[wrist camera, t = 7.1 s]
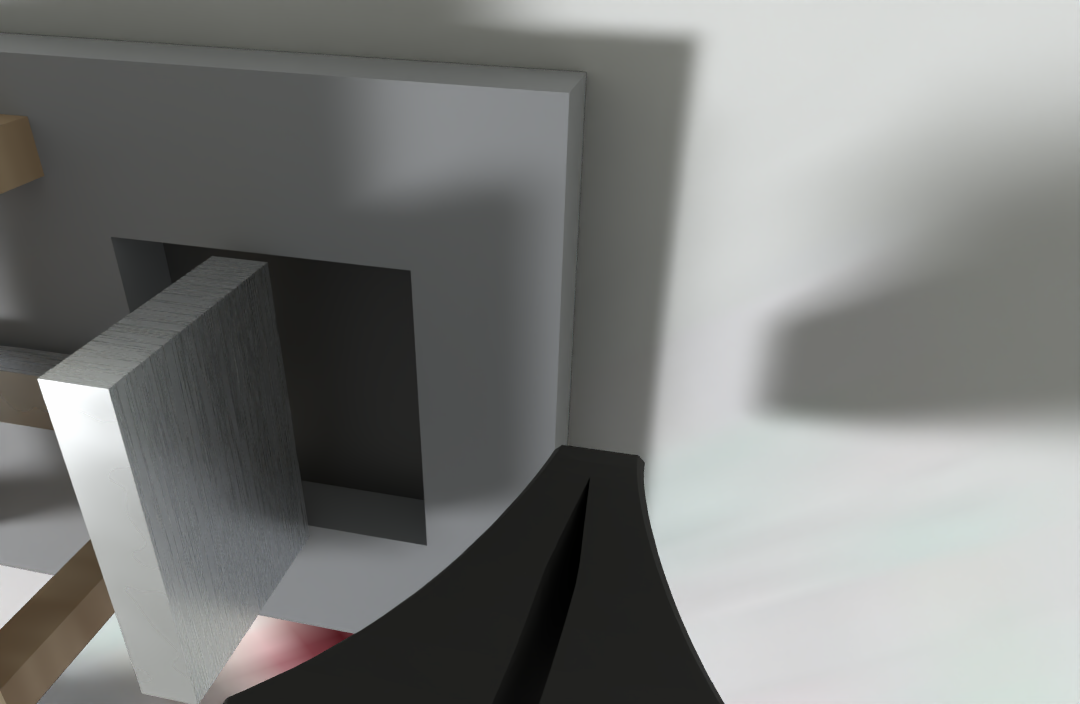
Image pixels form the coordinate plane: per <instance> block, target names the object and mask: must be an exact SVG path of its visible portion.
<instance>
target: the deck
mask: <svg viewBox="0 0 1080 704" xmlns="http://www.w3.org/2000/svg"><path fill="white" fill-rule="evenodd" d="M585 90H586V72H576V71H561V70H546V69H531V68H517V67H502V66H487V65H472V64H457V63H443V62H428V61H413V60H398V59H383V58H369V57H354V56H339V55H324V54H309V53H295V52H280V51H265V50H250V49H235V48H220V47H206V46H191V45H176V44H161V43H146V42H132V41H117V40H102V39H87V38H72V37H58V36H43V35H28V34H13V33H0V114H5V115H17V116H28V120H29V123H30V127H31V130H32V134H33V137H34V141H35V144H36V148H37V151H38V155H39V158H40V162H41V165H42V169H43V172H44V176H43V177H40V178H38V179H35V180H33V181H31V182H28V183H26V184H23V185H21V186H19V187H16V188H14V189H11V190H9V191H7V192H4V193H2V194H0V345H4V346H11V347H18V348H25V349H32V350H39V351H46V352H53V353H61V354H68V355H72V354H73V353H75V352H76V351H77V350H79V349H80V348H82V347H83V346H85V345H86V344H87V343H89V342H90V341H92V340H93V339H95V338H96V337H97V336H99V335H100V334H102V333H103V332H104V331H106V330H107V329H109V328H110V327H112V326H113V325H114V324H116V323H117V322H119V321H120V320H122V319H123V318H124V317H126V316H127V315H129V314H130V313H132V312H133V311H134V310H136V309H137V308H139V307H140V306H142V305H143V304H144V303H146V302H147V301H149V300H150V299H152V298H153V297H154V296H156V295H157V294H159V293H160V292H162V291H163V290H164V289H166V288H167V287H169V286H170V285H172V284H173V283H174V282H176V281H177V280H179V279H180V278H182V277H183V276H184V275H186V274H187V273H189V272H190V271H192V270H193V269H194V268H196V267H197V266H199V265H200V264H202V263H203V262H204V261H206V260H207V259H209V258H210V257H212V256H217V257H225V258H234V259H243V260H252V261H260V262H268V269H269V275H270V282H271V288H272V295H273V301H274V308H275V314H276V321H277V327H278V334H279V340H280V347H281V353H282V360H283V366H284V373H285V379H286V386H287V392H288V398H289V405H290V411H291V418H292V424H293V431H294V437H295V444H296V450H297V457H298V463H299V470H300V476H301V483H302V489H303V496H304V502H305V509H306V515H307V522H308V528H309V535H310V537H309V539H308V540H307V542H306V543H305V545H304V546H303V548H302V549H301V551H300V552H299V554H298V555H297V557H296V558H295V560H294V561H293V563H292V564H291V566H290V567H289V569H288V570H287V572H286V573H285V575H284V576H283V578H282V579H281V581H280V583H279V584H278V586H277V587H276V589H275V590H274V592H273V593H272V595H271V596H270V598H269V599H268V601H267V602H266V604H265V605H264V607H263V608H262V610H261V611H260V613H259V614H258V615H262V616H267V617H272V618H277V619H282V620H287V621H293V622H298V623H303V624H308V625H313V626H318V627H323V628H329V629H334V630H339V631H344V632H349V633H354V634H355V633H357V632H359V631H360V630H362V629H363V628H365V627H367V626H368V625H370V624H371V623H373V622H374V621H376V620H377V619H379V618H380V617H382V616H383V615H385V614H386V613H387V612H389V611H390V610H392V609H393V608H394V607H396V606H397V605H399V604H400V603H401V602H403V601H404V600H406V599H407V598H408V597H410V596H411V595H413V594H414V593H415V592H417V591H418V590H419V589H420V588H422V587H423V586H424V585H426V584H427V583H428V582H429V581H431V580H432V579H433V578H434V577H436V576H437V575H438V574H439V573H440V572H442V571H443V570H444V569H445V568H446V567H447V566H449V565H450V564H451V563H452V562H453V561H454V560H456V559H457V558H458V557H459V556H460V555H461V554H462V553H463V552H464V551H465V550H466V549H467V548H468V547H469V546H470V545H472V544H473V543H474V542H475V541H476V540H477V539H478V538H479V537H480V536H481V535H482V534H483V533H484V532H485V531H486V530H487V529H488V528H489V527H490V526H491V525H492V524H493V523H494V522H495V521H496V520H497V519H498V518H499V517H500V516H501V515H502V513H503V512H504V511H505V510H506V509H507V508H508V507H509V506H510V505H511V504H512V502H513V501H514V500H515V499H516V498H517V497H518V496H519V495H520V494H521V492H522V491H523V490H524V489H525V488H526V486H527V485H528V484H529V483H530V482H531V481H532V479H533V478H534V477H535V476H536V474H537V473H538V472H539V471H540V469H541V468H542V467H543V465H544V464H545V463H546V461H547V460H548V459H549V457H550V456H551V454H552V453H553V451H554V450H555V449H556V448H558V447H559V446H561V445H567V446H568V426H569V406H570V386H571V367H572V347H573V327H574V307H575V288H576V268H577V248H578V228H579V209H580V189H581V169H582V149H583V130H584V110H585ZM89 540H90V536H89V533H88V530H87V527H86V524H85V521H84V518H83V515H82V512H81V509H80V506H79V503H78V500H77V497H76V494H75V491H74V488H73V485H72V482H71V479H70V476H69V473H68V470H67V467H66V464H65V461H64V458H63V455H62V452H61V448H60V445H59V442H58V439H57V436H56V433H55V431H54V430H48V429H42V428H36V427H29V426H23V425H17V424H11V423H4V422H0V565H3V566H9V567H14V568H19V569H24V570H29V571H34V572H40V573H45V574H50V575H55V574H56V573H57V572H58V571H59V570H60V569H61V568H62V567H63V566H64V565H65V564H66V563H67V562H68V561H69V560H70V559H71V558H72V557H73V556H74V555H75V554H76V553H77V552H78V551H79V550H80V549H81V548H82V547H83V546H84V545H85V544H86V543H87V542H88V541H89Z"/></svg>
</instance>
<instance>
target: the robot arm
mask: <svg viewBox="0 0 1080 704" xmlns="http://www.w3.org/2000/svg"><path fill="white" fill-rule="evenodd" d="M644 465H645V463H644V461H643V460H642V459H641V458H640V457H639V456H638V455H631V454H624V453H617V452H610V451H602V450H595V449H588V448H581V447H574V446H567V445H561V446H559V447H558V448H556V449H555V450H554V451H553V453H552V454H551V456H550V457H549V459H548V460H547V461H546V463H545V464H544V465H543V467H542V468H541V469H540V471H539V472H538V473H537V474H536V476H535V477H534V478H533V479H532V481H531V482H530V483H529V484H528V485H527V486H526V488H525V489H524V490H523V491H522V492H521V494H520V495H519V496H518V497H517V498H516V499H515V500H514V501H513V502H512V504H511V505H510V506H509V507H508V508H507V509H506V510H505V511H504V512H503V513H502V515H501V516H500V517H499V518H498V519H497V520H496V521H495V522H494V523H493V524H492V525H491V526H490V527H489V528H488V529H487V530H486V531H485V532H484V533H483V534H482V535H481V536H480V537H479V538H478V539H477V540H476V541H475V542H474V543H473V544H472V545H470V546H469V547H468V548H467V549H466V550H465V551H464V552H463V553H462V554H461V555H460V556H459V557H458V558H457V559H456V560H454V561H453V562H452V563H451V564H450V565H449V566H447V567H446V568H445V569H444V570H443V571H442V572H440V573H439V574H438V575H437V576H436V577H434V578H433V579H432V580H431V581H429V582H428V583H427V584H426V585H424V586H423V587H422V588H420V589H419V590H418V591H417V592H415V593H414V594H413V595H411V596H410V597H408V598H407V599H406V600H404V601H403V602H401V603H400V604H399V605H397V606H396V607H394V608H393V609H392V610H390V611H389V612H387V613H386V614H385V615H383V616H382V617H380V618H379V619H377V620H376V621H374V622H373V623H371V624H370V625H368V626H367V627H365V628H363V629H362V630H360V631H359V632H357V633H355V634H353V635H352V636H350V637H348V638H347V639H345V640H343V641H341V642H340V643H338V644H336V645H334V646H333V647H331V648H329V649H328V650H326V651H324V652H322V653H321V654H319V655H317V656H315V657H314V658H312V659H310V660H308V661H306V662H304V663H302V664H300V665H298V666H296V667H294V668H292V669H290V670H288V671H286V672H284V673H281V674H279V675H277V676H275V677H273V678H271V679H268V680H266V681H264V682H262V683H260V684H258V685H255V686H253V687H251V688H249V689H247V690H245V691H242V692H240V693H238V694H235V695H233V696H230V697H228V698H227V699H226V700H225V701H224V703H223V704H724V702H723V700H722V699H721V697H720V695H719V694H718V692H717V690H716V688H715V687H714V685H713V683H712V681H711V680H710V678H709V676H708V674H707V672H706V670H705V668H704V666H703V664H702V662H701V660H700V658H699V656H698V654H697V652H696V650H695V648H694V646H693V644H692V642H691V640H690V637H689V635H688V633H687V631H686V628H685V626H684V624H683V622H682V619H681V617H680V614H679V612H678V610H677V607H676V605H675V602H674V599H673V597H672V594H671V591H670V588H669V586H668V583H667V580H666V577H665V574H664V571H663V568H662V565H661V562H660V558H659V555H658V552H657V548H656V544H655V540H654V536H653V533H652V529H651V525H650V520H649V516H648V510H647V504H646V498H645V490H644Z"/></svg>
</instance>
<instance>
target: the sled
mask: <svg viewBox="0 0 1080 704" xmlns="http://www.w3.org/2000/svg"><path fill="white" fill-rule="evenodd" d="M0 422H4V423H11V424H17V425H23V426H29V427H36V428H42V429H48V430H54V431H55V433H56V436H57V439H58V442H59V445H60V448H61V452H62V455H63V458H64V461H65V464H66V467H67V470H68V473H69V476H70V479H71V482H72V485H73V488H74V491H75V494H76V497H77V500H78V503H79V506H80V509H81V512H82V515H83V518H84V521H85V524H86V527H87V530H88V533H89V536H90V539H91V542H92V545H93V548H94V551H95V554H96V557H97V560H98V563H99V566H100V569H101V572H102V575H103V578H104V581H105V584H106V587H107V590H108V593H109V596H110V599H111V602H112V605H113V608H114V611H115V614H116V617H117V620H118V623H119V626H120V629H121V632H122V635H123V638H124V641H125V644H126V647H127V650H128V653H129V656H130V659H131V662H132V665H133V668H134V671H135V674H136V677H137V680H138V683H139V686H140V689H141V692H142V694H146V695H151V696H155V697H160V698H164V699H169V700H174V701H178V702H183V703H187V704H199V703H200V702H201V700H202V699H203V697H204V696H205V694H206V693H207V691H208V690H209V688H210V687H211V685H212V684H213V682H214V681H215V679H216V678H217V676H218V675H219V673H220V672H221V670H222V669H223V667H224V666H225V664H226V663H227V661H228V660H229V658H230V657H231V655H232V654H233V652H234V651H235V649H236V648H237V646H238V645H239V643H240V641H241V640H242V638H243V637H244V635H245V634H246V632H247V631H248V629H249V628H250V626H251V625H252V623H253V622H254V620H255V619H256V617H257V616H258V614H259V613H260V611H261V610H262V608H263V607H264V605H265V604H266V602H267V601H268V599H269V598H270V596H271V595H272V593H273V592H274V590H275V589H276V587H277V586H278V584H279V583H280V581H281V579H282V578H283V576H284V575H285V573H286V572H287V570H288V569H289V567H290V566H291V564H292V563H293V561H294V560H295V558H296V557H297V555H298V554H299V552H300V551H301V549H302V548H303V546H304V545H305V543H306V542H307V540H308V539H309V537H310V535H309V528H308V522H307V515H306V509H305V502H304V496H303V489H302V483H301V476H300V470H299V463H298V457H297V450H296V444H295V437H294V431H293V424H292V418H291V411H290V405H289V398H288V392H287V386H286V379H285V373H284V366H283V360H282V353H281V347H280V340H279V334H278V327H277V321H276V314H275V308H274V301H273V295H272V288H271V282H270V275H269V269H268V262H260V261H252V260H243V259H234V258H225V257H217V256H212V257H210V258H209V259H207V260H206V261H204V262H203V263H202V264H200V265H199V266H197V267H196V268H194V269H193V270H192V271H190V272H189V273H187V274H186V275H184V276H183V277H182V278H180V279H179V280H177V281H176V282H174V283H173V284H172V285H170V286H169V287H167V288H166V289H164V290H163V291H162V292H160V293H159V294H157V295H156V296H154V297H153V298H152V299H150V300H149V301H147V302H146V303H144V304H143V305H142V306H140V307H139V308H137V309H136V310H134V311H133V312H132V313H130V314H129V315H127V316H126V317H124V318H123V319H122V320H120V321H119V322H117V323H116V324H114V325H113V326H112V327H110V328H109V329H107V330H106V331H104V332H103V333H102V334H100V335H99V336H97V337H96V338H95V339H93V340H92V341H90V342H89V343H87V344H86V345H85V346H83V347H82V348H80V349H79V350H77V351H76V352H75V353H73V354H72V355H68V354H61V353H53V352H46V351H39V350H32V349H25V348H18V347H11V346H4V345H0Z"/></svg>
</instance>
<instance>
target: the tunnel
mask: <svg viewBox="0 0 1080 704" xmlns="http://www.w3.org/2000/svg"><path fill="white" fill-rule="evenodd" d="M43 176H44V172H43V169H42V165H41V162H40V158H39V155H38V151H37V148H36V144H35V141H34V137H33V134H32V130H31V127H30V123H29V120H28V116H17V115H5V114H0V194H2V193H4V192H7V191H9V190H11V189H14V188H16V187H19V186H21V185H23V184H26V183H28V182H31V181H33V180H35V179H38V178H40V177H43ZM114 613H115V611H114V608H113V605H112V602H111V599H110V596H109V593H108V590H107V587H106V584H105V581H104V578H103V575H102V572H101V569H100V566H99V563H98V560H97V557H96V554H95V551H94V548H93V545H92V542H91V539H90V540H89V541H88V542H87V543H86V544H85V545H84V546H83V547H82V548H81V549H80V550H79V551H78V552H77V553H76V554H75V555H74V556H73V557H72V558H71V559H70V560H69V561H68V562H67V563H66V564H65V565H64V566H63V567H62V568H61V569H60V570H59V571H58V572H57V573H56V574H55V575H54V576H53V577H52V578H51V579H50V580H49V581H48V582H47V583H46V584H45V585H44V586H43V587H42V588H41V589H40V590H39V591H38V592H37V593H36V594H35V595H34V596H33V597H32V598H31V599H30V600H29V601H28V602H27V603H26V604H25V605H24V606H23V607H22V608H21V609H20V610H19V611H18V612H17V613H16V614H15V615H14V616H13V617H12V618H11V619H10V620H9V621H8V622H7V623H6V624H5V625H4V626H3V627H2V628H1V629H0V704H36V703H37V702H38V701H39V700H40V698H41V697H42V696H43V695H44V694H45V693H46V692H47V690H48V689H49V688H50V687H51V686H52V685H53V683H54V682H55V681H56V680H57V679H58V678H59V676H60V675H61V674H62V673H63V672H64V671H65V669H66V668H67V667H68V666H69V665H70V664H71V662H72V661H73V660H74V659H75V658H76V657H77V656H78V654H79V653H80V652H81V651H82V650H83V649H84V647H85V646H86V645H87V644H88V643H89V642H90V640H91V639H92V638H93V637H94V636H95V635H96V633H97V632H98V631H99V630H100V629H101V628H102V626H103V625H104V624H105V623H106V622H107V621H108V620H109V618H110V617H111V616H112V615H113V614H114Z"/></svg>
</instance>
